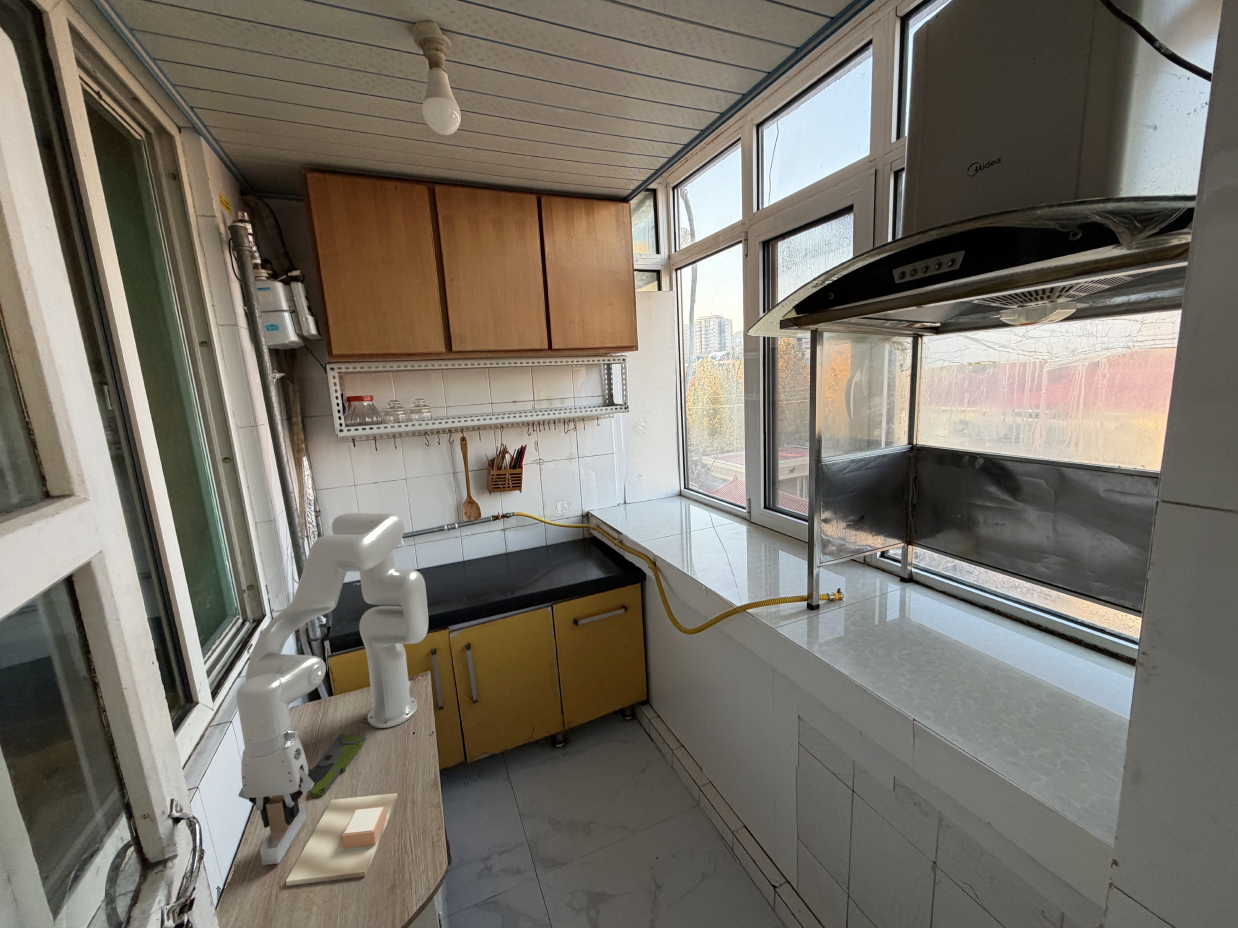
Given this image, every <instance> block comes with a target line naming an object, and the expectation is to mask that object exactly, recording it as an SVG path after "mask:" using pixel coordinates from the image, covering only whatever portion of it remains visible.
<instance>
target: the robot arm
mask: <svg viewBox="0 0 1238 928" xmlns="http://www.w3.org/2000/svg"><path fill="white" fill-rule="evenodd" d="M331 532H332V534H327V535H323V536H319V537H318V538H317V539H315V541H314V542H313V543H312V545H311V547H310V549H309V553H308V556H307V559H306V560H305V564H304V567H303V570H302V573H301V576H300V579H299V581H298V585H297V588H296V591H295V594H294V596H293V599H292V601H291V602H290V604H288V605H287V606H286V607H285V608H284V609H283V610H281V612H279V613H278V614H277V615H276V616H275V617H274V618H273V619H272V620H270V622H269V624H268V625H266V627H265V628H264V629H263V630H262V631H261V633H260V635H259V636H258V638H257V639H256V642H255V645H254V647H253V650H252V652H251V656H250V658H249V661H248V665H247V668H246V672H245V681H244V682H243V683H242V684H241V685H240V686H239V687H238V689H237V691H236V695H235V696H236V697H235V698H236V703H237V710H238V715H239V721H240V726H241V727H240V728H241V734H242V739H243V747H244V749H243V751H242V757H241V763H240V764H241V766H240V767H241V768H240V771H241V772H240V773H241V784H242V785H241V786H242V787H241V789H240V790H239V793H238V797H239V798H241V799H245V800H248V801H249V802H250V803H252V805H255V809H256V810H257V811H260V817H261V821H262V824H263V829H265V828H266V829H267V828H268V827H269V828H270V826H269V820H268V814H267V808H266V804H267V802H268V801H269V800H270V798H271V797H272V796H276V795H283V796H284V799H285V802H286V807H285V808H284V812H285V819H286V824H287V825H291V824H292V822H293V820H294V819H295V817H297V815H298V814H299V804H300V803H299V800H300V799H301V797H302V796H303V795H305V794H306V793H308V792H310V791H311V789H312V787H313V785H314V782H313V781H312V780H311V779H310V778H309V776H308V770H309V765H308V762H307V757H306V754H305V749H304V747H303V744H302V742H301V740H300V738H299V730H298V729H296V730H295V729H293V724H292V723H291V716H290V709H289V705H290V704H292V703H294V702H295V701H297V700H299V699H300V698H302V697H304V696H306V695H308V694H309V693H311V692H312V691H314V690H315V689H316V688H317V687H318V686H319V685H321V682H322V681H323V680H324V677H325V675H326V669H327V667H326V662H324V660H323V659H322V658H320V657H319V656H316V655H311V654H310V655H308V654H287V653H282V652H283V649H284V647H285V644H286V643H287V641H288V639H289V638H290V637H291V636H292V635H293V633H294V632H295V631H297V630H298V628H300V627H302V626H303V625H304V624H307V623H308V622H309V621H312V620H314V619H316V618H319V617H320V616H323V615H326V614H328V613H330V612H332V611H333V610H334V609H336V607H337V605H338V602H339V599H340V595H341V591H342V588H343V584H344V582H345V577H346V574H347V572H351V573H352V572H355V573H356V572H358V573H359V577H360V578H359V579H360V587H361V588H360V589H361V593H362V597H363V600H364V602H365V603H367V604H370V605H375V606H376V607H371V608H369V609H368V610H366V611H365V612H364V613H363V614H362V616H361V618H360V620H359V626H358V627H359V628H358V629H359V634H360V637H361V640H362V642H363V643H362V644H363V645H364V647H365V652H366V657H367V659H366V660H367V666H368V667H367V668H368V675H369V684H370V693H371V701H372V708H371V709H370V710H369V712H368V714H367V721H368V724H369V725H370V726H372V727H373V728H378V729H379V728H380V729H385V728H391V727H395V726H397V725H400V724H402V723H404V722H406V721H408V720H409V719H411V718H412V716H413V715H414V714H415V713H416V711H417V709H418V703H417V700H416V699H415V698H414V697H412V696H411V694H410V686H411V681H410V680H409V674H408V665H407V664H408V663H407V653H406V649H405V646H404V645H405V644H406V645H408V644H409V645H411V644H418V643H420V642H422V641H423V640H424V639H425V638H426V636H427V633H428V630H429V610H428V598H427V597H428V596H427V589H426V588H427V587H426V581H425V579H424V576H423V575H422V573H420V571H417V570H416V569H406V568H405V569H404V568H397V567H396V563H395V558H394V550H395V548H396V547H397V546H398V545H399V544H400V542H402V541H401V540H402V539H403V536H404V533H405V524H404V521H403V519H402V518H401V517H400V516H399V515H397V514H393V513H383V512H382V513H380V512H379V513H378V512H377V513H376V512H374V513H373V512H372V513H370V512H369V513H367V512H350V513H343V514H340V515H337V516H336V517H335V518H334V519H333V521H332V523H331ZM299 784H300V785H301V786H300V787H299Z"/></svg>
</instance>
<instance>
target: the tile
mask: <svg viewBox="0 0 1238 928" xmlns="http://www.w3.org/2000/svg"><path fill="white" fill-rule="evenodd" d="M386 819H387V818H386V809H385V806H383V807H374V808H365V809H355V811H354V813H353V815H352V817H351V819H350V821H349V823H348V825H347V827H346V829H345V831H344V833H343V835H342V837H343V845H344V849H345V848H354V847H363V846H372V845H376V843H377V841H378V838H379V836H380V833H381V831H382V829H383V826H384V824H385V821H386Z"/></svg>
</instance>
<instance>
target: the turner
mask: <svg viewBox="0 0 1238 928" xmlns="http://www.w3.org/2000/svg"><path fill="white" fill-rule="evenodd" d="M298 804H299V814H298V815H297V817H295V819H294V820H293V822H292V824H291V825H287V824H286V819H285V812H284V808H285V807H286V802H285V799H284V796H283V795H276V796H271V797H270V800H269V801H268V802H267V804H266V808H267V814H268V820H269V829H270V830H269V831H270V833H269V835H268V836H267V838H266V840H265V841H264V842H263V844H262V846H261V847H260V849H259V852H260V858H261V864H262V866H265V865H273V864H276V865H277V864H280V862H281V861H282V859H283V858H284V856H285V854H286V853H287V850H288V849H289V847H290V846H291V844H292V842H293V841H294V839H295V838H296V836H297V834H298V832H299V830H300V829H301V828H302V826H303V824H304V822H305V821H306V819H307V814H306V806H305V803H298Z"/></svg>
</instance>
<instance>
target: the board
mask: <svg viewBox="0 0 1238 928" xmlns="http://www.w3.org/2000/svg"><path fill="white" fill-rule="evenodd" d="M398 796H399V795H398V792H395V793H387V794H384V793H383V794H376V795H375V794H373V795H367V796H365V795H364V796H359V797H358V796H356V797H346V798H337V799H331V800H330V802H329V804H328V805H327V807H326V809H325V810H324V813H323V814H322V816H321V818H320V819H319V822H318V823H317V825H316V827H315V828H314V830H313V832H312V833H311V835H310V837H309V840H308V841H307V842H306V845H305V846H304V848H303V849H302V852H301V853H300V855H299V857H298V859H297V860H296V863H294V865H293V867H292V869H291V871H290V873H289V875H288V876H287V878H286V879H285V885H286V886H287V887H288V886H296V885H302V884H311V883H318V882H322V883H323V882H328V881H337V880H344V879H345V880H346V879H353V878H361V877H367V874H368V871H369V869H370V866H371V863H372V862H373V858H375V857H374V856H375V854H376V852H377V849H378V847H379V844H380V841H381V840H382V837H383V834H384V833H385V829H386V827H387V824H388V822H389V819H390V817H391V815H392V813H393V810H394V808H395V805H396V802H397V800H398V798H399V797H398ZM383 806H385V809H386V818H387V819H386V821H385V824H384V826H383V829H382V831H381V833H380V836H379V838H378V841H377V843H376V845H372V846H363V847H354V848H345V849H344V845H343V837H342V835H343V833H344V831H345V829H346V827H347V825H348V823H349V821H350V819H351V817H352V815H353V813H354V811H355V809H365V808H374V807H383Z"/></svg>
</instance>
